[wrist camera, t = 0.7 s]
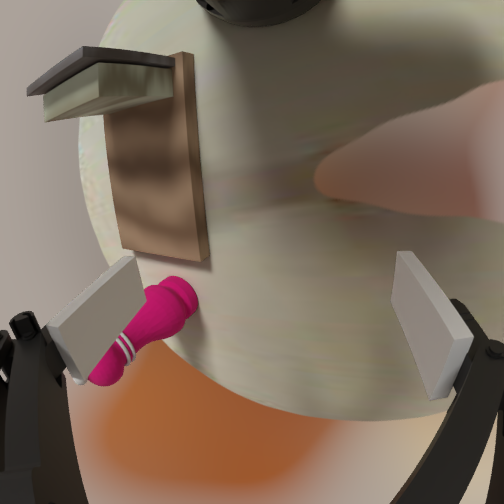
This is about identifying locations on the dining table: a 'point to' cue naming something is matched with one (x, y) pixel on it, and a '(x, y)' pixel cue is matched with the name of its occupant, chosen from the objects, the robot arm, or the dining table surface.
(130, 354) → the pepper mill
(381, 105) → the dining table surface
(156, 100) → the wooden bookend
